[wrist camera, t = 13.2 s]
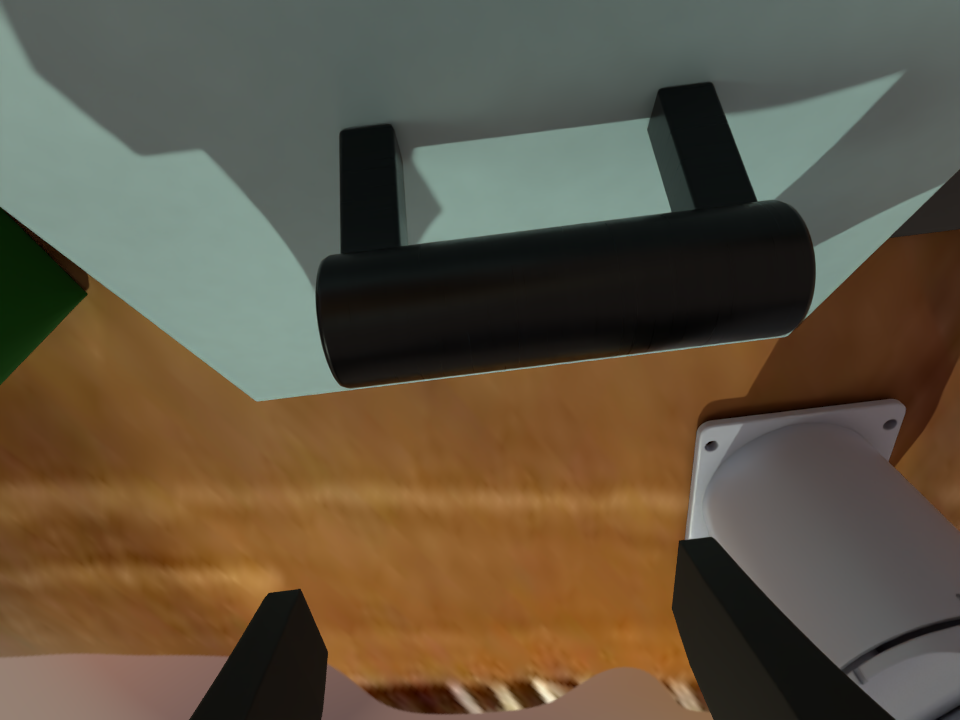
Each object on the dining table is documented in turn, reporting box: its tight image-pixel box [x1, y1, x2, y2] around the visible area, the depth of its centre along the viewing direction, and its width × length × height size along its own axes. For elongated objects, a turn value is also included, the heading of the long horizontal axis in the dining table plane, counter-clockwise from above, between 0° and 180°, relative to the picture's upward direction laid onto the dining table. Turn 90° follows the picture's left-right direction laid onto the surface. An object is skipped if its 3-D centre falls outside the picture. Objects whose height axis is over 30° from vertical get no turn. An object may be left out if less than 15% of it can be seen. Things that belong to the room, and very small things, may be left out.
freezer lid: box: [0, 0, 960, 401], centre depth 8 cm, size 14×14×4 cm
